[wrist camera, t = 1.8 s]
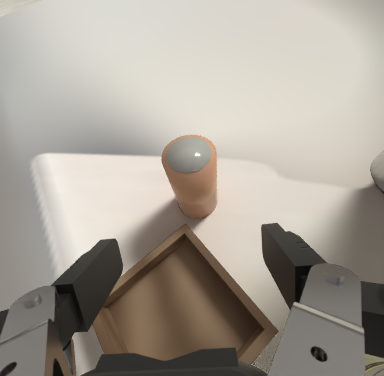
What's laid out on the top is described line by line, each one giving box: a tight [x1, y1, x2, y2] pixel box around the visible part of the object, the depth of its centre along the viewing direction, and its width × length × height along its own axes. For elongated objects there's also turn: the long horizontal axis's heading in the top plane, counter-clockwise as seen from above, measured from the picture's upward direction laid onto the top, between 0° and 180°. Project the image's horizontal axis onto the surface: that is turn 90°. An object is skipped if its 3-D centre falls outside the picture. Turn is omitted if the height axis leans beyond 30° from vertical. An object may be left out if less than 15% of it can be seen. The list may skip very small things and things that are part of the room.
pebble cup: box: [162, 135, 217, 218], centre depth 24 cm, size 6×6×10 cm
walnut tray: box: [92, 224, 278, 365], centre depth 19 cm, size 13×13×4 cm
